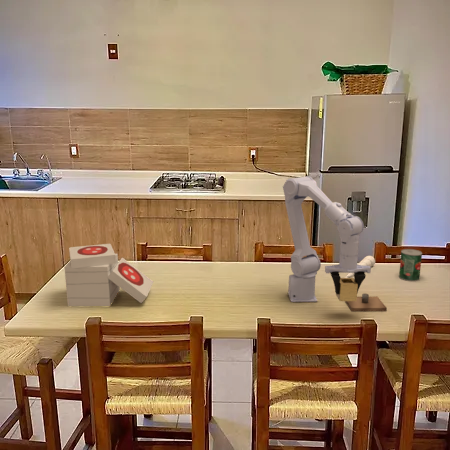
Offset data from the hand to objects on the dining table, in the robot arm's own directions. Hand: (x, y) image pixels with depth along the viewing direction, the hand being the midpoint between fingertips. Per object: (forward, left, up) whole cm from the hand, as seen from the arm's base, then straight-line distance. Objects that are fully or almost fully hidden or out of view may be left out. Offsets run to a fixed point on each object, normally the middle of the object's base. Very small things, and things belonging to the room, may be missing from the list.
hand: (346, 293), depth 161 cm
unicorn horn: (+17, +42, -8) cm, 47 cm away
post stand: (+9, +8, -8) cm, 14 cm away
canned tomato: (+35, +35, -8) cm, 50 cm away
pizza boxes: (-82, +16, -8) cm, 84 cm away
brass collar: (0, 0, -2) cm, 2 cm away
